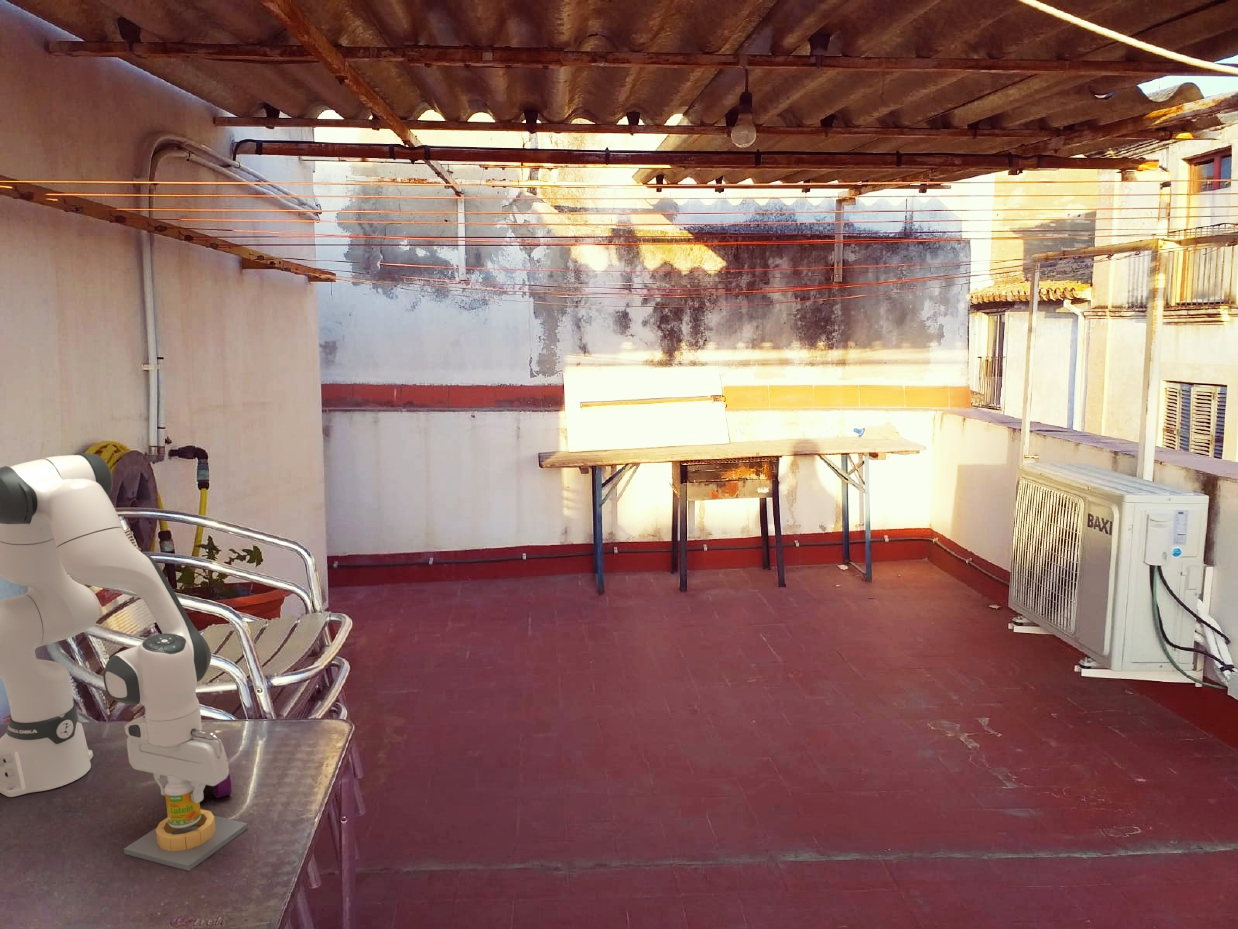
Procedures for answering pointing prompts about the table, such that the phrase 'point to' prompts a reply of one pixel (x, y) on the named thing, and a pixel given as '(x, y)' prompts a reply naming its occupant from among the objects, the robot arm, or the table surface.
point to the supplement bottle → (180, 803)
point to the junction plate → (188, 855)
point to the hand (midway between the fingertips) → (182, 797)
